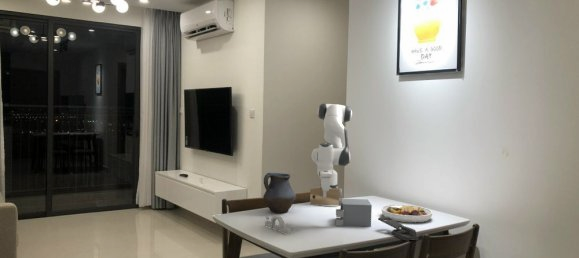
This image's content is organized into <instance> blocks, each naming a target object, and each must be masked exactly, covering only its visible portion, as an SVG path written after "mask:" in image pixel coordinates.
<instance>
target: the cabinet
mask: <svg viewBox="0 0 579 258" xmlns="http://www.w3.org/2000/svg"><path fill="white" fill-rule="evenodd" d="M372 207H373V205H372V203H371V202H370V200H369V199H368V198H367V199H365V198H364V199H363V198H342V205H340V207H339V208H335V216H336V217H335V226H336V227H344V226H346V227H347V226H351V227H352V226H353V227H355V226H356V227H372V209H373V208H372Z"/></svg>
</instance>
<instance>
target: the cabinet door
mask: <svg viewBox="0 0 579 258" xmlns="http://www.w3.org/2000/svg"><path fill="white" fill-rule="evenodd" d="M309 193H310V194H309V197H310V198H309V205H316V206H317V205H318V206H321V205H339V206H341V205H342V199H343V188H338V189H330V188H329V191H327V194H326V197H323V191H322V188H320V187H310V191H309Z"/></svg>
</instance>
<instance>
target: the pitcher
mask: <svg viewBox="0 0 579 258" xmlns="http://www.w3.org/2000/svg"><path fill="white" fill-rule="evenodd" d="M290 178H291V174H289V173H282V172H281V173H279V172H266V174H265V175H264V176H263V186H264V189H265V192H264V193H263V197H262V198H263V200H264V202H265V204H266V206H267V207H268V209H269V211H270V212H271V213H274V214H286V213H288V212H289V211H290V208H291V207H292V206H293V203H295V201H296V199H297V194H296V193H295V191H294V190H293V188H292V186H291V183H290ZM269 179H270V181H269Z"/></svg>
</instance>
